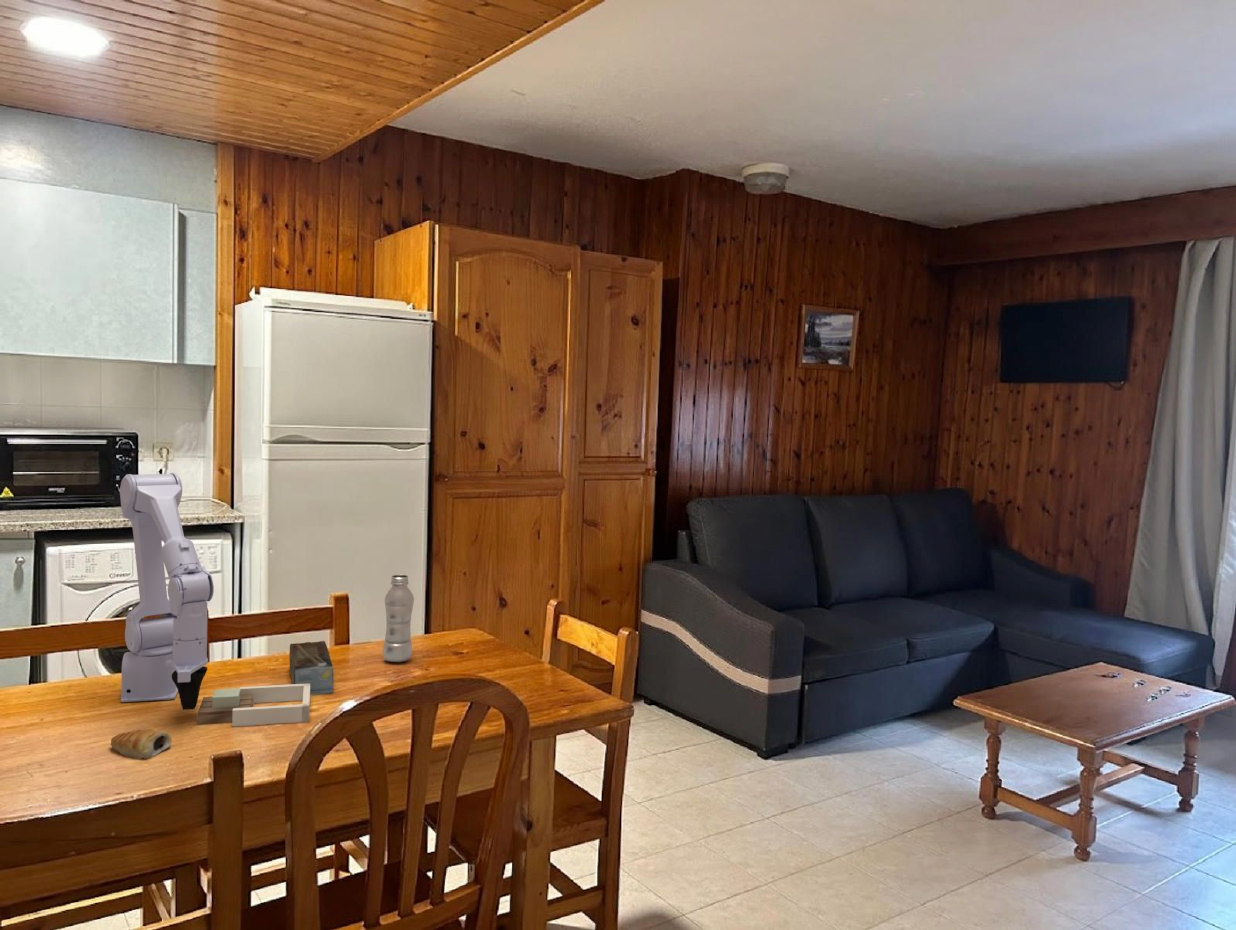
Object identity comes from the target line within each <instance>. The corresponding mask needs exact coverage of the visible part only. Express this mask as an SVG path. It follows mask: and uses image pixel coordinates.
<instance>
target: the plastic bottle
mask: <svg viewBox="0 0 1236 930" xmlns="http://www.w3.org/2000/svg"><path fill="white" fill-rule="evenodd" d="M390 584H391V587H390V589H389V590H388V591H387V593H386V594H385V597H384V607H385V613H386V614H385V615H386V618H385V619H386V624H385V625H386V629H385V635H384V642H383V647H382V656H383V658H384V660H385V661H387V662H390V663H402V662H406V661H409V660H410V658H411V657H412V655H413V654H412V653H413V644H412V638H411V637H412V635H411V634H412V633H411V624H412V623H411V622H412V613H413V608H414V601H415V598H414V594H413V592H412V591H411V590H410V588H409V587H408V585H409V575H406V574H393V575H391V581H390Z"/></svg>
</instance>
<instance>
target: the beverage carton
mask: <svg viewBox="0 0 1236 930" xmlns="http://www.w3.org/2000/svg"><path fill="white" fill-rule="evenodd" d="M288 659H289V672H290V678H291V683H292V684H309V683H310V696H311V695H312V696H314V695H315V696H316V695H327V694H333V693H334V667H333V662H332V659H331V654H330V652H329V649H328V645H327V643H326V641H325V640H320V641H313V642H310V641H307V642H300V643H299V642H296V643H290V644H289V657H288Z"/></svg>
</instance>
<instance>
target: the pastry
mask: <svg viewBox="0 0 1236 930" xmlns="http://www.w3.org/2000/svg"><path fill="white" fill-rule="evenodd" d="M110 739H111V740H110V746H111V747H112V749H113V750H114V751H116V752H118V753H119V752H120V753H119V754H121V755H122V756H126V755H127V756H126V757H130V756H131V757H130V758H134V759H139V758H144V759H143V760H145V758H148V759H151V758H153V757H156V756H158V755H159V754H161V753H162V752H164V751H165V750H166V749H167V750H168V749H169V748H170V747H171V745H172V742H173V741H172V737H171V735H170V734H169V732H168V731H166V730H163V731H160V730H158V729H154V728H144V729H139V728H138V729H135V730H132V731H126V732H121V733H118V734H116V735H115V736H113V737H111V738H110ZM150 757H151V758H150Z"/></svg>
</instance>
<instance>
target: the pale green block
mask: <svg viewBox="0 0 1236 930" xmlns="http://www.w3.org/2000/svg"><path fill="white" fill-rule="evenodd" d="M240 690H241V688H239V687H238V688H223V689H222V688H221V689H215V690H213V695H212V696H211V697H212V708H223V707H238V706H239V702H240Z"/></svg>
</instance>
